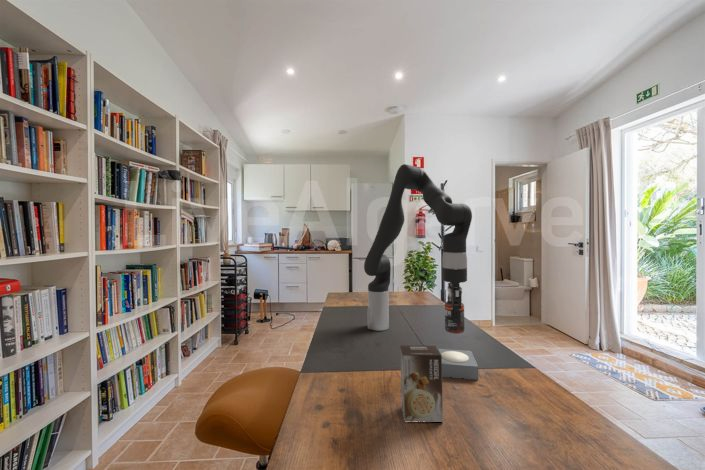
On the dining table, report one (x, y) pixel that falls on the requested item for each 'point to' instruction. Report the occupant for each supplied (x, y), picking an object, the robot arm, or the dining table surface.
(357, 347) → the dining table surface
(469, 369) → the base block
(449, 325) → the supplement bottle
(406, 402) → the coffee box
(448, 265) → the robot arm
